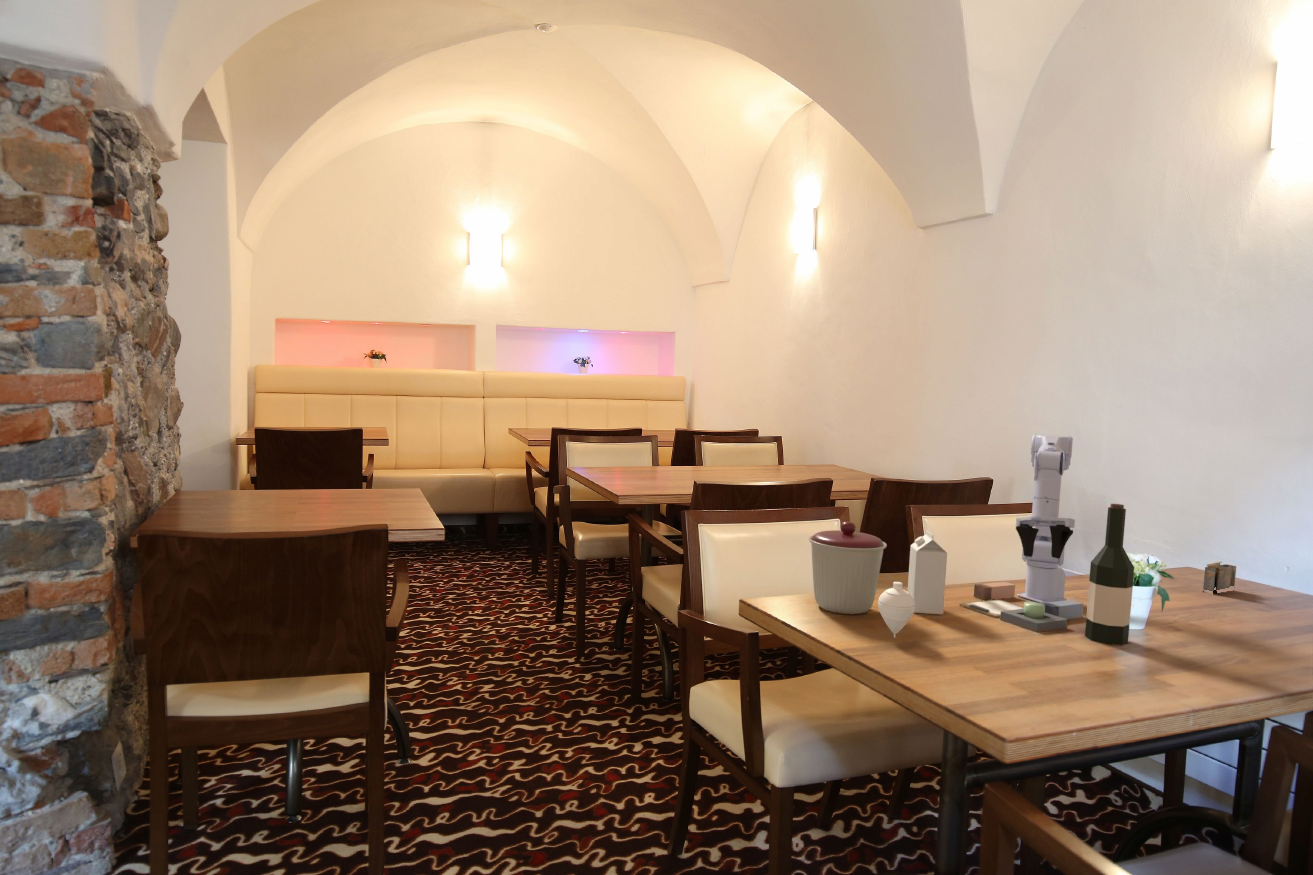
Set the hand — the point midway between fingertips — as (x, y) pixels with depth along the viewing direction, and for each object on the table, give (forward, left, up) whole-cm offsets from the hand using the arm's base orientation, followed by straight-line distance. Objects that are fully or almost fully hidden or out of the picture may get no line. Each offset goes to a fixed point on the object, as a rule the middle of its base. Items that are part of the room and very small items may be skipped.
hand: (1041, 557), depth 192 cm
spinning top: (+44, 0, -15) cm, 47 cm away
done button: (+4, +2, -13) cm, 14 cm away
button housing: (+4, +2, -15) cm, 16 cm away
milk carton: (+21, -15, -15) cm, 30 cm away
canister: (+40, -22, -15) cm, 48 cm away
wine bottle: (-2, +16, -15) cm, 22 cm away
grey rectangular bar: (-8, 0, -15) cm, 17 cm away
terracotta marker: (-7, -19, -15) cm, 25 cm away
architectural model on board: (-79, -4, -16) cm, 80 cm away
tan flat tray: (+2, -10, -15) cm, 18 cm away
